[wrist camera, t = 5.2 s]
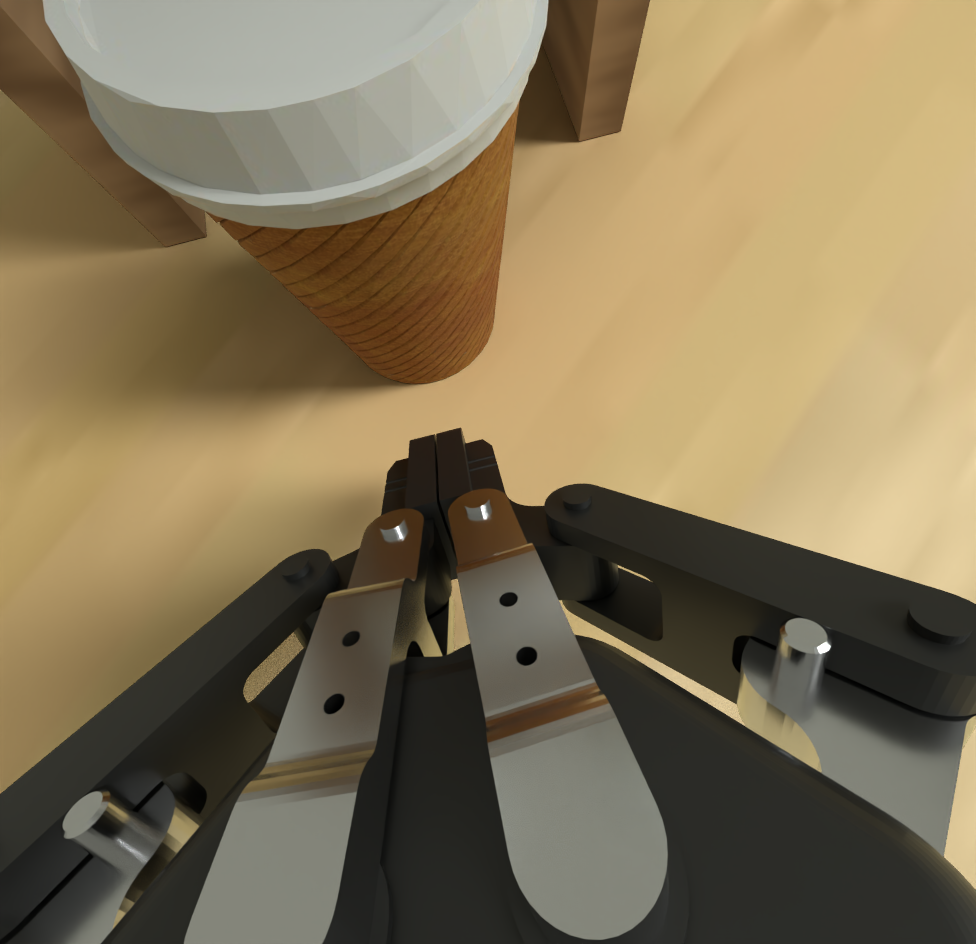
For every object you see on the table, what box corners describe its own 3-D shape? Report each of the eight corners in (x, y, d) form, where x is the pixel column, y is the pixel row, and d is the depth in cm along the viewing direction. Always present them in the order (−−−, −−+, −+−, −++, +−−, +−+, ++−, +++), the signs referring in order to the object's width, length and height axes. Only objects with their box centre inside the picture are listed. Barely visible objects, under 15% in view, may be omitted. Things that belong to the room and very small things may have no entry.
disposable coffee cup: (269, 344, 20) (-93, -5, 8) (405, 191, 21) (265, -289, 10) (441, 466, 18) (295, 242, 6) (576, 289, 19) (664, -160, 8)
